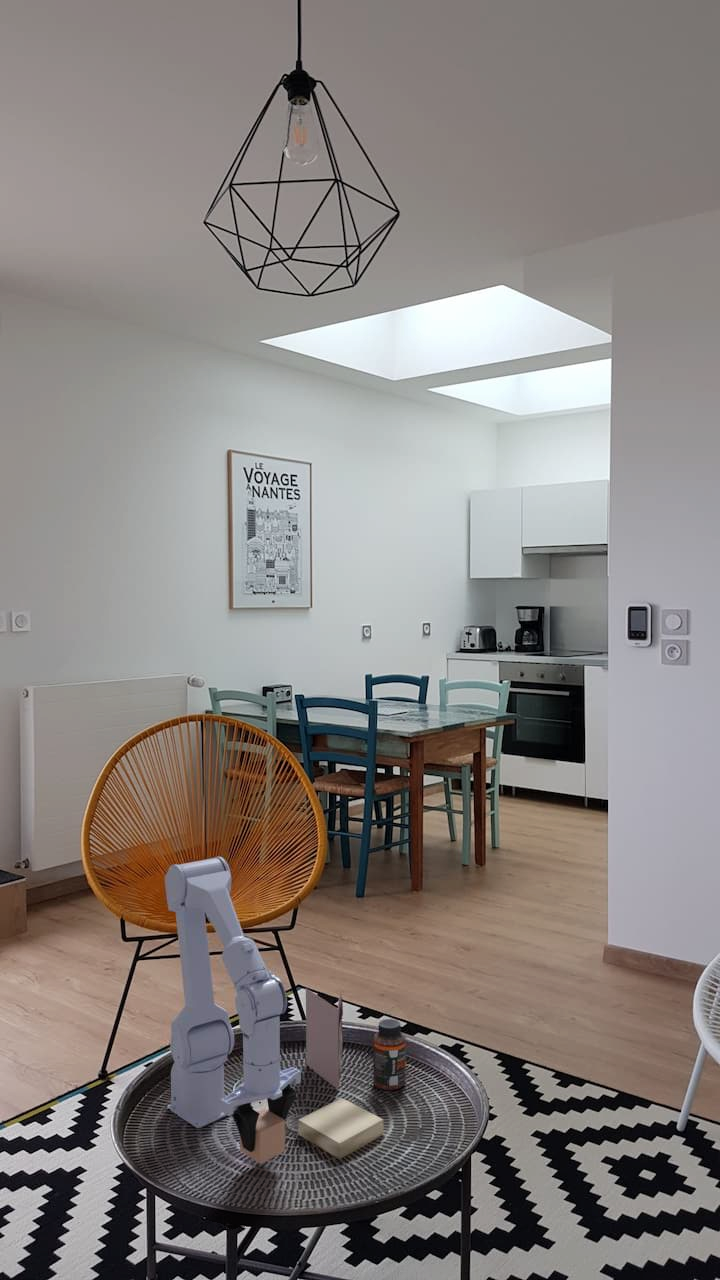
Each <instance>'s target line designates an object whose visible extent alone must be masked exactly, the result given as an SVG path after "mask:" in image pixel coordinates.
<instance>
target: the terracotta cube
mask: <svg viewBox="0 0 720 1280" xmlns="http://www.w3.org/2000/svg"><path fill="white" fill-rule="evenodd" d="M257 1112H258V1113H260V1114H259V1117H258V1120H257V1124H256V1131H255V1148H254V1151H252V1152H249V1151H248V1150H246V1149H245V1148H243V1145H242V1141H241V1137H240V1136H239V1151H240V1152H241V1153H242V1154H245V1155H246V1156H248V1157H249V1158H251V1159H252V1160H254V1161H255V1162H257V1163H258V1164H264V1163H265V1162H267V1161H269V1160H271V1159H272V1158H274V1157H277V1156H278V1155H280V1154H282V1153H284V1152H285V1151H286V1121H285V1120H284V1119H282V1118H281V1117H279V1116H277V1115H275V1114H274V1113H272V1112H270V1111H269V1109H267V1108H265V1107H264V1108H262V1109H260V1110H258V1111H257Z"/></svg>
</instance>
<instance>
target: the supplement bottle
mask: <svg viewBox="0 0 720 1280" xmlns="http://www.w3.org/2000/svg"><path fill="white" fill-rule="evenodd" d="M372 1039H373V1040H372V1043H373V1046H372V1047H373V1048H372V1049H373V1052H372V1053H373V1055H372V1057H373V1058H372V1059H373V1061H372V1064H373V1065H372V1067H373V1068H372V1069H373V1073H372V1074H373V1075H372V1076H373V1077H372V1078H373V1083H374V1085H375V1086H376V1087H377V1088H378V1089H381V1090H386V1091H395V1090H399V1089H401V1088H402V1086H403V1085H404V1086H405V1085H406V1079H407V1078H406V1077H407V1075H406V1073H407V1072H406V1069H407V1067H406V1061H407V1060H406V1059H407V1058H406V1054H407V1051H406V1050H407V1049H406V1048H407V1045H406V1041H407V1040H406V1036H405V1034H404V1032H403V1033H402V1032H401V1022H400V1021H399V1020H397V1019H392V1018H387V1019H382V1020H380V1021H379V1022H378V1031H377V1032H376V1033H375V1034H374V1036H373V1038H372ZM404 1086H403V1087H404Z"/></svg>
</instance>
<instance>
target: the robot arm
mask: <svg viewBox="0 0 720 1280" xmlns="http://www.w3.org/2000/svg"><path fill="white" fill-rule="evenodd" d="M164 884H165V886H164V887H165V894H166V902H167V909H168V911H170V912H174V913H175V918H176V919H175V920H176V928H177V937H178V938H177V939H178V947H179V950H178V951H179V956H180V957H179V958H180V965H181V968H180V969H181V976H182V988H183V995H184V1007H183V1008H182V1010H181V1011H180V1012H179V1013H178V1014H177V1015H176V1016H175V1017H174V1018H173V1020H172V1021H171V1026H170V1028H171V1034H170V1039H169V1040H170V1044H169V1047H170V1052H171V1056H172V1059H173V1061H174V1063H173V1064H172V1067H171V1070H170V1088H171V1089H170V1093H171V1094H170V1096H171V1097H170V1099H171V1100H170V1104H168V1105H167V1106H166V1108H167V1107H168V1108H169V1109H170V1110H171V1111H173V1112H174V1113H175V1115H176V1114H177V1115H176V1116H178V1117H179V1118H180V1119H183V1120H184V1121H186V1123H189V1124H191V1125H192V1126H193V1127H194V1128H196V1129H200V1128H203V1127H205V1126H207V1125H209V1124H211V1123H214V1122H216V1121H218V1120H220V1119H222V1118H225V1117H226V1116H228V1117H230V1116H231V1117H232V1120H234V1122H235V1125H236V1127H237V1130H238V1132H239V1138H240V1137H241V1141H242V1145H243V1148H245V1149H246V1150H248V1151H249V1152H252V1151H254V1148H255V1131H256V1124H257V1120H258V1117H259V1114H260V1113H258V1111H256V1110H255V1109H254V1106H253V1105H252V1103H254V1102H259V1101H264V1100H266V1101H267V1107H268V1110H269V1111H270V1112H272V1113H274V1114H275V1115H277V1116H279V1117H281V1118H282V1119H284V1120H285V1122H287V1121H286V1120H287V1116H288V1114H289V1111H290V1109H291V1107H292V1105H293V1103H294V1102H295V1100H296V1099H297V1092H296V1090H294V1089H293V1088H291V1085H292V1084H294V1085H299V1084H300V1083H302V1082H301V1081H302V1080H301V1079H302V1077H301V1076H302V1074H301V1073H302V1072H301V1070H300V1069H298V1068H296V1067H293V1066H292V1067H289V1068H287V1069H283V1070H281V1040H280V1039H281V1038H280V1035H281V1033H280V1032H281V1031H280V1030H281V1028H280V1027H281V1024H280V1015H282V1014H285V1012H286V1010H287V1007H288V999H287V998H288V997H287V996H288V995H287V993H286V989H285V986H284V983H283V981H282V980H281V979H280V978H279V977H278V976H276V975H275V974H274V972H273V971H271V970H270V971H269V970H268V969H267V966H266V964H265V962H264V960H263V958H262V956H261V953H260V951H259V949H258V947H257V945H256V942H255V941H254V940H253V939H252V938H249V937H246V936H245V935H244V931H243V929H242V927H241V923H240V921H239V918H238V915H237V912H236V909H235V906H234V904H233V901H232V899H231V895H230V893H231V888H232V875H231V870H230V866H229V864H228V862H227V861H226V860H225V858H223V857H222V856H215V857H214V858H213V857H212V858H207V859H202V860H197V861H190V862H187V863H181V864H177V863H175V864H171V865H170V866H169V869H168V870H167V872H166V874H165V877H164ZM206 917H207V918H208V920H209V922H210V923H211V925H212V928H213V929H214V931H215V933H216V935H217V937H218V938H219V939H220V942H221V943H222V945H223V946H224V947H223V948H224V949H223V951H222V953H221V959H222V962H223V965H224V966H225V968H226V970H227V973H228V976H229V977H230V981H232V984H233V987H234V989H235V990H236V997H235V998H234V1000H235V1001H234V1003H235V1008H236V1012H237V1015H238V1022H239V1024H238V1025H239V1029H240V1031H241V1032H242V1052H243V1054H242V1056H243V1061H242V1065H243V1067H242V1070H243V1075H242V1076H243V1077H242V1078H243V1082H242V1083H241V1084H240V1085H239V1086H238V1087H236V1088H235V1089H234V1090H233V1091H231V1092H230V1094H228V1095H226V1096H225V1069H224V1067H225V1065H224V1064H225V1062H228V1055H230V1054H231V1053H232V1051H233V1049H234V1046H235V1034H234V1031H233V1027H232V1024H231V1021H230V1016H229V1012H228V1011H227V1009H225V1008H223V1007H222V1006H220V1005H218V1004H216V1003H215V997H214V989H213V988H214V986H213V979H212V978H213V976H212V968H211V967H212V966H211V960H210V959H211V958H210V951H209V950H210V949H209V941H208V931H207V922H206ZM172 1108H175V1109H172ZM170 1110H169V1111H170ZM171 1111H170V1112H171ZM173 1112H172V1113H173ZM174 1113H173V1114H174Z"/></svg>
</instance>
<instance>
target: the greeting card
mask: <svg viewBox="0 0 720 1280" xmlns="http://www.w3.org/2000/svg"><path fill="white" fill-rule="evenodd" d="M337 1004H338V1005H337V1007H336V1006H334V1005H332V1004H331V1003H329V1002H328V1001H327V1000H326V999H323V998H322V997H320V996H319V995H317V994H316V993H315V992H313V991H311V989H310V990H309V989H308V988H306V987H305V1041H306V1042H305V1046H306V1047H305V1048H306V1051H305V1053H306V1066H307V1065H308V1066H309V1067H308V1066H307V1067H308V1068H309V1069H311V1070H312V1069H313V1070H314V1071H313V1072H314V1073H316V1074H317V1075H318V1076H320V1077H321V1078H323V1079H324V1081H326V1082H328V1083H329V1084H330V1085H331V1086H333V1087H334V1088H335V1089H337V1090H338V1091H339V1088H340V1080H341V1069H342V1068H341V1067H342V1054H343V1048H344V1047H343V1046H344V1032H343V1021H342V1020H343V1019H342V1018H343V1015H344V1009H343V1008H344V1006H343V997H342V984H340V985H339V994H338V1003H337Z"/></svg>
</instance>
